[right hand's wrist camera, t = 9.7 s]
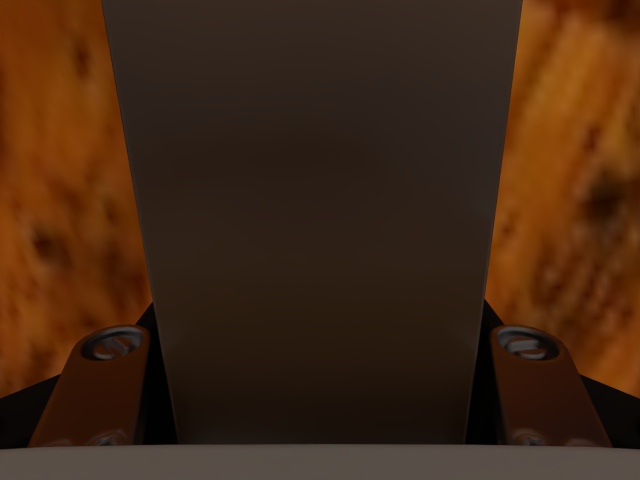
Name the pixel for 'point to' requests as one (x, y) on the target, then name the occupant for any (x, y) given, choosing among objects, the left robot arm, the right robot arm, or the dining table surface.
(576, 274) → the dining table surface
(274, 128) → the bar
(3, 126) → the dining table surface
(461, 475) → the right robot arm
